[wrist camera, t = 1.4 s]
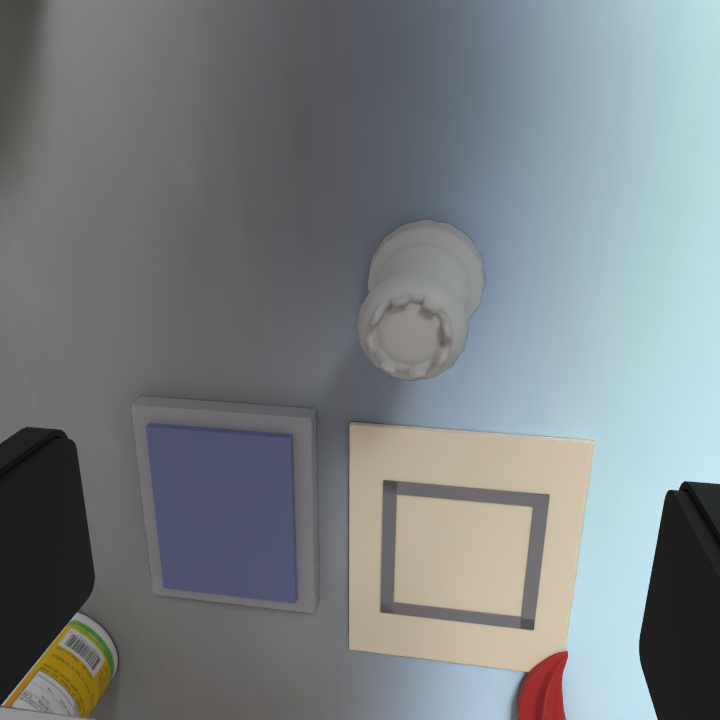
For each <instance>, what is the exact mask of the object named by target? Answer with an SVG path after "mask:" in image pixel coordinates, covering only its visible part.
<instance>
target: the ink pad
mask: <svg viewBox="0 0 720 720" xmlns="http://www.w3.org/2000/svg"><path fill="white" fill-rule="evenodd" d="M131 414H132V422H133V431H134V439H135V447H136V456H137V464H138V473H139V481H140V490H141V498H142V507H143V515H144V523H145V532H146V540H147V549H148V557H149V566H150V574H151V583H152V591H153V595H161V596H170V597H178V598H186V599H195V600H203V601H211V602H220V603H228V604H237V605H245V606H253V607H262V608H270V609H279V610H287V611H295V612H304V613H312V614H315V612H316V609H317V605H318V602H319V542H318V479H317V417H316V409H314V408H300V407H286V406H273V405H259V404H246V403H232V402H219V401H205V400H191V399H178V398H164V397H151V396H140V397H139V398H138V399H137V400H135V401H134V402H133V403H132V404H131Z"/></svg>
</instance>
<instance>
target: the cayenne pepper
mask: <svg viewBox="0 0 720 720" xmlns="http://www.w3.org/2000/svg"><path fill="white" fill-rule="evenodd" d="M567 658H568V651H564V652H559V653H556V654H554V655H552V656H550V657H548V658H546V659H545V660H543V661H542V662H540V663H539V664H538V665H536V666H535V667H534V668H533V669H532V670H531V671H530V672H529V673H528V674H527V676H526V677H525V679H524V681H523V683H522V685H521V688H520V691H519V694H518V699H517V710H518V720H566V718H565V714H564V708H563V697H562V675H563V670H564V667H565V664H566V661H567Z"/></svg>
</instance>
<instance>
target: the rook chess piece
mask: <svg viewBox="0 0 720 720" xmlns="http://www.w3.org/2000/svg"><path fill="white" fill-rule="evenodd" d="M485 280H486V276H485V270H484V265H483V260H482V255H481V254H480V252H479V251H478V249H477V248H476V246H475V245H474V243H473V242H472V240H471V239H470V237H469V236H467V235H466V234H464V233H463V232H461V231H460V230H458V229H457V228H455V227H454V226H452V225H451V224H448V223H443V222H437V221H432V220H421V221H417V222H412V223H408V224H403V225H402V226H400V227H399V228H397V229H396V230H395V231H393V232H392V233H390V234H389V235H387V236H386V237H385V238H384V239H383V241H382V242H381V244H380V245H379V247H378V249H377V250H376V252H375V253H374V255H373V257H372V261H371V264H370V270H369V276H368V282H367V285H368V289H369V294H368V296H367V297H366V299H365V300H364V302H363V304H362V305H361V307H360V309H359V315H358V321H357V328H356V329H357V333H358V337H359V341H360V345H361V349H362V350H363V351H364V353H365V354H366V356H367V357H368V358H369V360H370V361H371V362H372V364H373V365H374V366H375V367H377V368H378V369H380V370H381V371H383V372H384V373H386V374H388V375H389V376H391V377H392V378H393V377H395V378H400V379H405V380H409V381H416V380H422V379H428V378H434V377H435V376H437V375H439V374H440V373H442V372H444V371H445V370H447V369H448V368H450V367H452V365H453V364H454V363H455V361H456V360H457V358H458V357H459V356H460V354H461V353H462V352H463V350H464V347H465V342H466V338H467V333H468V324H467V322H468V321H469V319H470V318H471V316H472V315H473V314H474V312H475V311H476V310H477V308H478V307H479V305H480V301H481V298H482V293H483V289H484V285H485Z"/></svg>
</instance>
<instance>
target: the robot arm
mask: <svg viewBox="0 0 720 720" xmlns="http://www.w3.org/2000/svg"><path fill="white" fill-rule="evenodd" d="M94 580H95V573H94V566H93V559H92V552H91V545H90V538H89V531H88V524H87V517H86V510H85V503H84V496H83V489H82V483H81V476H80V469H79V462H78V455H77V449H76V445H75V443H74V441H72V440H71V439H68V437H67V435H66V434H65V432H63V431H62V430H57V429H45V428H32V427H26V428H24V429H21V430H20V431H18V432H17V433H15V434H14V435H13V436H11V437H10V438H8V439H7V440H5V441H4V442H2V443H1V444H0V720H98V719H91V718H84V717H77V716H70V715H64V714H57V713H50V712H43V711H36V710H29V709H22V708H16V707H9V706H2V704H3V702H4V701H5V700H6V699H7V698H8V696H9V695H10V694H11V693H12V691H13V690H14V689H15V688H16V686H17V685H18V684H19V683H20V682H21V680H22V679H23V678H24V677H25V675H26V674H27V673H28V672H29V670H30V669H31V668H32V667H33V666H34V664H35V663H36V662H37V661H38V659H39V658H40V657H41V656H42V655H43V653H44V652H45V651H46V650H47V648H48V647H49V646H50V645H51V643H52V642H53V641H54V640H55V639H56V637H57V636H58V635H59V634H60V632H61V631H62V630H63V629H64V628H65V626H66V625H67V624H68V623H69V621H70V620H71V619H72V618H73V616H74V615H75V614H76V613H77V612H78V610H79V609H80V608H81V607H82V605H83V604H84V603H85V602H86V600H87V599H88V598H89V596H90V594H91V592H92V590H93V586H94ZM639 655H640V662H641V666H642V670H643V673H644V676H645V679H646V683H647V686H648V689H649V692H650V696H651V699H652V702H653V705H654V709H655V712H656V715H657V719H658V720H720V484H711V483H699V482H687V481H684V482H683V483H682V484H681V486H680V488H679V491H677V490H669V491H668V492H667V494H666V497H665V501H664V506H663V512H662V517H661V523H660V528H659V534H658V539H657V545H656V550H655V556H654V561H653V567H652V572H651V578H650V584H649V589H648V595H647V600H646V606H645V611H644V617H643V622H642V628H641V633H640V640H639Z"/></svg>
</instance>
